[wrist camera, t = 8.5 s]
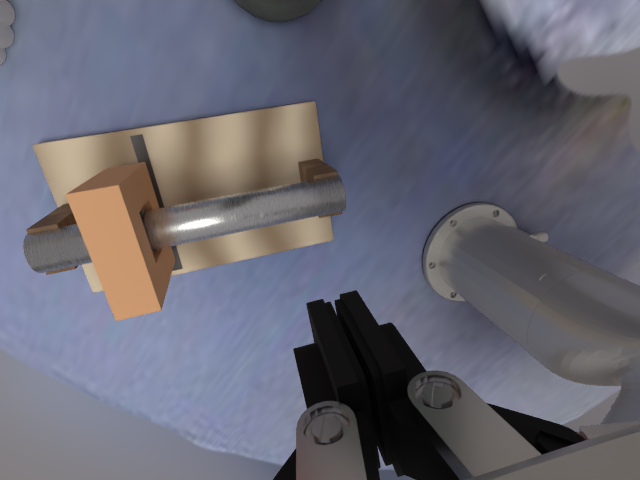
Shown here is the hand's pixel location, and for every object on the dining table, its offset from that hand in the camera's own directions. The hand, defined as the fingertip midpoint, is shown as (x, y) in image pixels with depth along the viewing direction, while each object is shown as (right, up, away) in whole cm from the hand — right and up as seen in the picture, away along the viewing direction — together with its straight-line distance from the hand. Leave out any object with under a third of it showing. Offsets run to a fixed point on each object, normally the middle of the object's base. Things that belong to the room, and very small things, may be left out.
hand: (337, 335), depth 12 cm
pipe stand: (-12, +7, +25) cm, 29 cm away
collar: (-16, +5, +21) cm, 26 cm away
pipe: (-10, +5, +19) cm, 22 cm away
